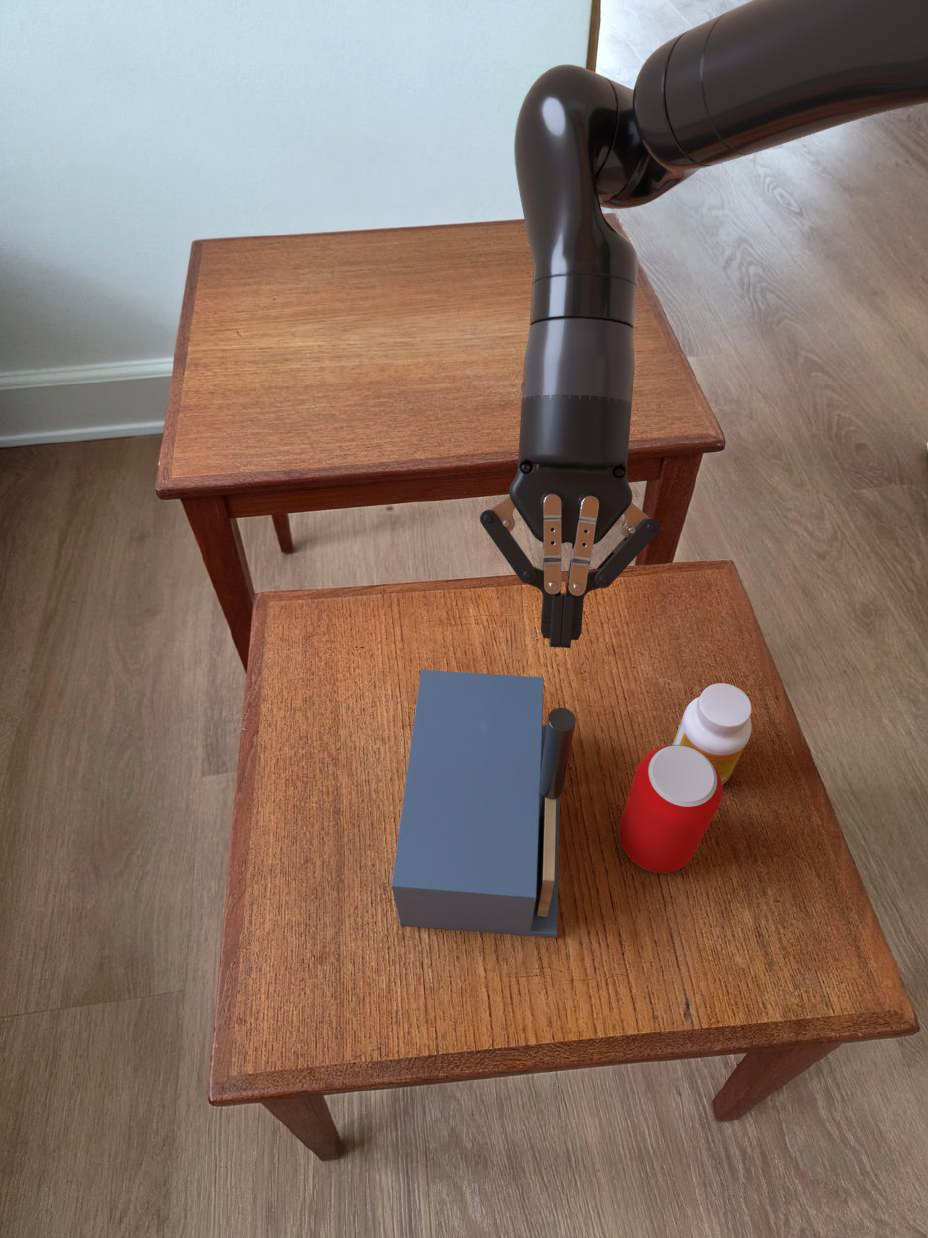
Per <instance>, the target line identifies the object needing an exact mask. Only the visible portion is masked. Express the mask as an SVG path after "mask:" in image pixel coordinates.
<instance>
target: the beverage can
mask: <svg viewBox="0 0 928 1238" xmlns="http://www.w3.org/2000/svg"><path fill="white" fill-rule="evenodd" d="M722 799H723V784H722V782H721V778H720V775H719V773H718V771H717V769H716V768H715V766H714V765H713V763H712V762H711V761H710V760H709V759H708V758H707V757H706V756H705V755H704V754H702V753H701V752H699V751H698V750H696V749H694V748H691V747H688V746H683V745H672V744H668V745H664V746H663V745H662V746H660V747H656V748H655V749H653V750H651V751H649V752H648V753H647V754H646V755H645V756H644V757H643V758H642V759H641V761H640V762H639V764H638V766H637V768H636V770H635V774H634V777H633V780H632V783H631V787H630V789H629V793H628V796H627V799H626V802H625V805H624V809H623V812H622V815H621V818H620V820H619V826H618V837H619V838H618V839H619V841H620V845H621V846H622V849H623V851H624V852H625V854H626V856H627V857H628V858H629V859H630V860H631V861H632V862H633V863H634V864H636V865H637V866H638V867H640V868H641V869H643V870H645V871H648V872H651V873H655V874H670V873H674V872H677V871H679V870H681V869H682V868H684V867H685V866H686V865H687V864H688V863H690V862H691V860H692V859H693V857H694V855H695V854H696V852H697V850H698V848H699V846H700V843H701V842H702V840H703V838H704V836H705V834H706V832H707V831H708V828H709V827H710V825H711V823H712V821H713V819H714V817H715V816H716V813H717V811H718V810H719V808H720V805H721V803H722Z"/></svg>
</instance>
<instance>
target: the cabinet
mask: <svg viewBox="0 0 928 1238" xmlns="http://www.w3.org/2000/svg"><path fill="white" fill-rule="evenodd" d="M544 680H545V678H544V677H540V676H525V675H511V674H494V673H493V674H492V673H481V672H480V673H479V672H465V671H461V672H460V671H445V670H433V669H432V670H431V669H421V670H420V678H419V683H418V689H417V697H416V704H415V712H414V713H415V714H414V719H413V725H412V726H413V727H412V732H411V733H412V734H411V741H410V742H411V743H410V749H409V750H410V751H409V755H408V762H407V764H408V765H407V770H406V777H405V783H404V784H405V785H404V792H403V799H402V804H401V805H402V807H401V813H400V821H399V826H398V835H397V841H396V842H397V843H396V850H395V857H394V865H393V872H392V878H391V885H390V886H391V890H392V893H393V898H394V903H395V907H396V911H397V916H398V920H399V925H400V926H402V927H415V928H428V929H429V928H430V929H439V930H449V931H450V930H451V931H462V932H463V931H464V932H476V933H487V934H488V933H489V934H500V935H513V936H523V937H535V938H536V937H537V938H547V939H557V937H558V929H559V928H558V925H559V924H558V923H559V922H558V921H559V920H558V918H559V917H558V916H559V873H560V872H559V869H560V868H559V867H560V860H559V859H560V821H561V819H560V813H561V796H560V797H558V798H556V844H555V881H554V886H553V891H552V896H551V901H550V906H549V911H548V916H547V917H543V916H537V899H538V868H539V838H540V812H541V805H542V798H543V795H542V794H541V793H540V790H539V783H540V776H541V768H542V760H543V752H544V744H545V737H546V729H547V724H543V714H544V712H543V711H544V682H545V681H544Z"/></svg>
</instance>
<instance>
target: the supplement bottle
mask: <svg viewBox="0 0 928 1238" xmlns="http://www.w3.org/2000/svg"><path fill="white" fill-rule="evenodd" d="M752 711H753V710H752V702H751V701H750V698H749V697H748V696H747V694H746V693H745V692H744V691H743V690H742V689H740V688H739V687H737V686H735V685H733V684H730V683H726V682H725V683H723V682H719V683H713V684H710V685H708V686H707V687H705V689H704V690H703V691H702V692H701V694H700V696H698V697H697V696H696V698H694V699H693V700H692V701H691V702H689V704H688V705H687V706H686V708H685V710H684V712H683V715H682V718H681V720H680V722H679V725H678V728H677V730H676V733H675V736H674V739H673V741H672V743H671V745H683V746H688V747H691V748H694V749H696V750H698V751H699V752H701V753H702V754H704V755H705V756H706V757H707V758H708V759H709V760H710V761H711V762H712V763H713V765H714V766H715V768H716V769H717V771H718V773H719V775H720V778H721V782H722V785H724V784H725V783H727V781H728V780H729V779H730V777H731V775H732V773H733V772H734V770H735V767H736V766H737V764H738V761H739V759H740V757H741V755H742V754H743V751H744V750H745V748H746V746H747V744H748V742H749V740H750V738H751V736H752V730H753V728H752V727H753V725H752V720H751V715H752Z"/></svg>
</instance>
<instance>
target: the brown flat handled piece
mask: <svg viewBox="0 0 928 1238" xmlns="http://www.w3.org/2000/svg"><path fill="white" fill-rule="evenodd" d="M546 721H547V722H546V725H547V729H546V737H545V744H544V752H543V760H542V768H541V776H540V783H539V790H540V793H541V794H542V795H543V798H542V805H541V812H540V838H539V868H538V899H537V916H543V917H547V916H548V911H549V906H550V901H551V896H552V891H553V886H554V881H555V844H556V798H558V797H560V798H561V796H562V795H563V793H564V790H565V784H566V778H567V773H568V767H569V764H570V763H569V762H570V757H571V751H572V747H573V746H572V745H573V740H574V735H575V730H576V724H577V718H576V715H575V714H574V712H573V711H571V710H570V709H568V708H566V707H556V708H554V709H552V710H551V711H550V712H549V713H548V716H547V720H546Z"/></svg>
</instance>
